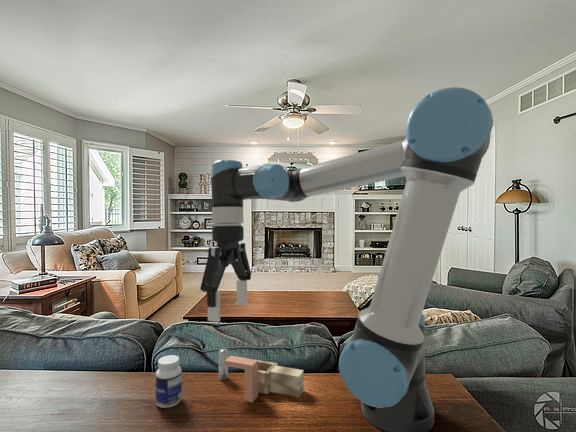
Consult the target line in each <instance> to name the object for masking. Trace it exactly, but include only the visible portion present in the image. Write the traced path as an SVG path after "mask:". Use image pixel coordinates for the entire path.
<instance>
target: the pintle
mask: <svg viewBox="0 0 576 432" xmlns="http://www.w3.org/2000/svg"><path fill="white" fill-rule="evenodd" d="M228 357H229V349H228V348H226V347H225V348H224V347H223V348H220V349H218V380H219V379H220V380H219V381H226V380H225V379H227V378H228V379H229V366H224V361H225V360H226V359H227V358H228ZM228 379H227V380H228Z"/></svg>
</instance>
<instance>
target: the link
mask: <svg viewBox="0 0 576 432" xmlns="http://www.w3.org/2000/svg"><path fill="white" fill-rule="evenodd" d="M257 360H258V394H259V393H261V394H266V395H269V394H270V393H274V394H278V395H279V394H280V395H284V396H289V397H293V398H294V397H295V398H300V397H301V395H302V394H303V392H304V386H305V385H304V384H305V383H304V382H305V381H304V380H305V379H304V375H305V374H304V372H305V371H304V369H299V368H293V367H287V366H281V365H278V362H272V361H267V360H260V359H257Z"/></svg>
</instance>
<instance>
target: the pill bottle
mask: <svg viewBox="0 0 576 432" xmlns="http://www.w3.org/2000/svg"><path fill="white" fill-rule="evenodd" d="M157 367H158V369H157V370H156V372H155V404H156V406H157V407H159V408H162V409H168V408H173V407H174V406H177V405H178V404H179V403H180V402H181V401H182V392H183V391H182V384H183V383H182V382H183V381H182V376H183V375H182V373H183V371H182V367H181V365H180V357H179V356H178V355H175V354H173V355H172V354H170V355H168V354H167V355H165V356H162V357H160V358H159V359H158V360H157Z"/></svg>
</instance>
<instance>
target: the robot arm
mask: <svg viewBox="0 0 576 432" xmlns="http://www.w3.org/2000/svg"><path fill="white" fill-rule="evenodd" d="M493 126H494V118H493V114H492V110H491V109H490V107H489V105H488V104H487V101H486V100H485V99H484V97H482V96H481V95H480V94H478V93H477V92H475V91H473V90H471V89H468V88H465V87H455V86H452V87H450V86H449V87H446V88H441V89H440V88H439V89H437V90H435V91H432V92H430V93H429V94H428V95H426V96H424V97H423V98H421V99H420V100H419V101H418V102H417V103H416V104H415V105H414V106H413V108H412V109H411V111H410V112H409V115H408V117H407V120H406V124H405V139H404V140H399V141H395V142H393V143H389V144H384V145H382V146H377V147H375V148H371V149H367V150H363V151H360V152H356V153H352V154H348V155H345V156H342V157H341V156H340V157H337V158H334V159H330V160H327V161H322V162H319V163H316V164H315V163H314V164H312V165H308V166H305V167H302V168H298V169H295V170H289V171H288V170H286V169H285V168H284V167H283V165H281V164H278V163H272V164H270V163H264V164H262V165H253V166H247V167H243V163H242V162H241V161H239V160H235V159H226V160H225V159H220V160H216V161H214V162H212V165H211V175H210V176H211V178H210V183H211V216H212V217H211V218H212V219H211V223H212V225H213V224H214V226H213V227H211V237H212V238H211V239H212V241H213V242H216V246H208V250H207V251H208V252H207V260H206V264H205V267H204V271H203V272H204V273H203V276H202V279H201V284H200V286H199V287H200V291H202V292H204V293H206V304H207V305H206V306H207V322H216V323H219V322H221V291H218V290H219V287H220V285H221V282H222V279H223V276H224V273H225V271H226V268H227V267H228V266H230V265H231V266H232V269H233V271H234V273H235V275H236V277H237V278H238V279H237V280H236V281H235V282H236V285H235V286H236V306H243V307H247V306H248V281H250V280H251V278H252V277H251V276H252V271H251V268H250V267H251V266H250V264H249V260H248V259H249V258H248V254H247V251H246V243H245V242H242V241H243V240H244V236H245V235H244V233H245V231H244V230H245V229H244V226H243V225H242V224H244V222H245V221H244V220H245V219H244V200H269V201H270V200H271V201H273V200H274V201H283V202H284V201H285V202H290V203H297V202H302V201H304V200H305V199H307V198H310V197H314V196H319V195H322V194H328V193H333V192H338V191H341V190H347V189H352V188H356V187H361V186H365V185H371V184H375V183H379V182H385V181H390V180H394V179H398V178H402V177H403V178H404V177H405V181H406V182H405V185H404V189H403V192H402V195H401V199H400V201H399V206H398V209H397V213H396V216H395V219H394V222H393V227H392V230H391V233H390V237H389V240H388V244H387V246H386V251H385V254H384V258H383V261H382V264H381V268H380V271H379V275H378V277H377V281H376V285H375V288H374V292H373V295H372V298H371V302H370V304H369V306H368V307H365V308H364V309H361V310H360V311H359V313H358V316H357V320H356V323H355V326H354V329H353V334H352V336H351V339H350V341H349V342H348V343H347V344H346V345H345V346H343V347H344V348H343V349H342V351H341V354H340V356H339V358H338V359H339V360H338V370H339V375H340V377H341V380H342V381H343V383H344V384H345V386H346V388H347V390H348V391H349V392H350V394H352V396H354V397H355V398H356V399H357V400H358V401H360V404H361V406H360V408H361V413H362V415H363V417H364V418H365V419H366V420H367V421H368V422H369V423H370V424H371V425H373V427H376V428H378V429H380V430H382V431H384V432H430V430H432V428H433V427H434V424H435V410H434V409H435V408H434V405H433V403H432V400H431V396H430V393H429V390H428V387H427V383H426V333H425V332H426V328H427V325H426V321H425V315H424V314H423V311H424V308H425V305H426V301H427V298H428V295H429V291H430V288H431V285H432V282H433V279H434V276H435V273H436V269H437V267H438V264H439V260H440V257H441V255H442V251H443V248H444V245H445V242H446V238H447V235H448V232H449V229H450V226H451V222H452V220H453V216H454V214H455V213H454V212H455V210H456V207H457V203H458V200H459V198H460V195H461V193H462V192H463V191H464V190H467V189H468V188H470V187H471V186H473V185H474V184H475V181H476V178H477V175H478V174H479V173H478V172H479V169H480V166H481V163H482V160H483V158H484V156H485V155H486V153H487V152H488V149H489V146H490V143H491V133H492V129H493Z"/></svg>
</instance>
